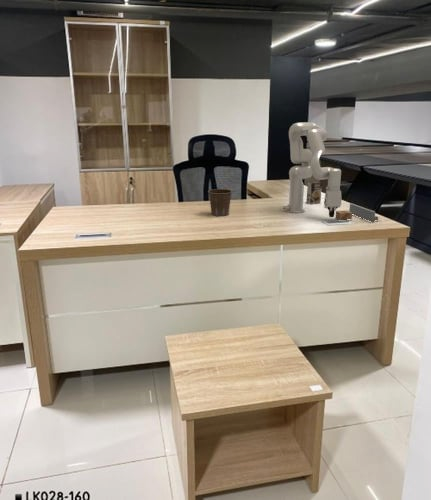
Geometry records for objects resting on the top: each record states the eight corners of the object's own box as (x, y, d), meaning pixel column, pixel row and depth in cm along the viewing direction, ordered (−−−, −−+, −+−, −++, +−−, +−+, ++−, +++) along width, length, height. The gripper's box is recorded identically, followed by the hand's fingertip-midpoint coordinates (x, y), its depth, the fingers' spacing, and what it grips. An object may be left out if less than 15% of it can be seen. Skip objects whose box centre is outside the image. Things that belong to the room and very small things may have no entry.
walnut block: (339, 220, 273) (340, 213, 272) (335, 218, 280) (336, 211, 278) (351, 220, 274) (352, 212, 273) (346, 218, 281) (347, 210, 279)
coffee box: (310, 204, 322) (312, 183, 317) (305, 203, 327) (307, 182, 322) (320, 203, 325) (322, 182, 320) (315, 202, 331) (317, 181, 326)
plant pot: (229, 217, 281) (230, 193, 277) (206, 216, 285) (205, 192, 280) (233, 212, 297) (234, 189, 292) (211, 211, 300) (211, 188, 295)
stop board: (371, 222, 268) (372, 211, 266) (349, 213, 292) (350, 203, 290) (379, 222, 269) (380, 211, 267) (356, 213, 293) (357, 203, 291)
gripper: (325, 189, 263) (323, 218, 269) (347, 188, 267) (344, 217, 272) (320, 188, 270) (318, 216, 276) (341, 187, 274) (338, 214, 279)
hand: (331, 216), depth 274 cm, fingers closed
